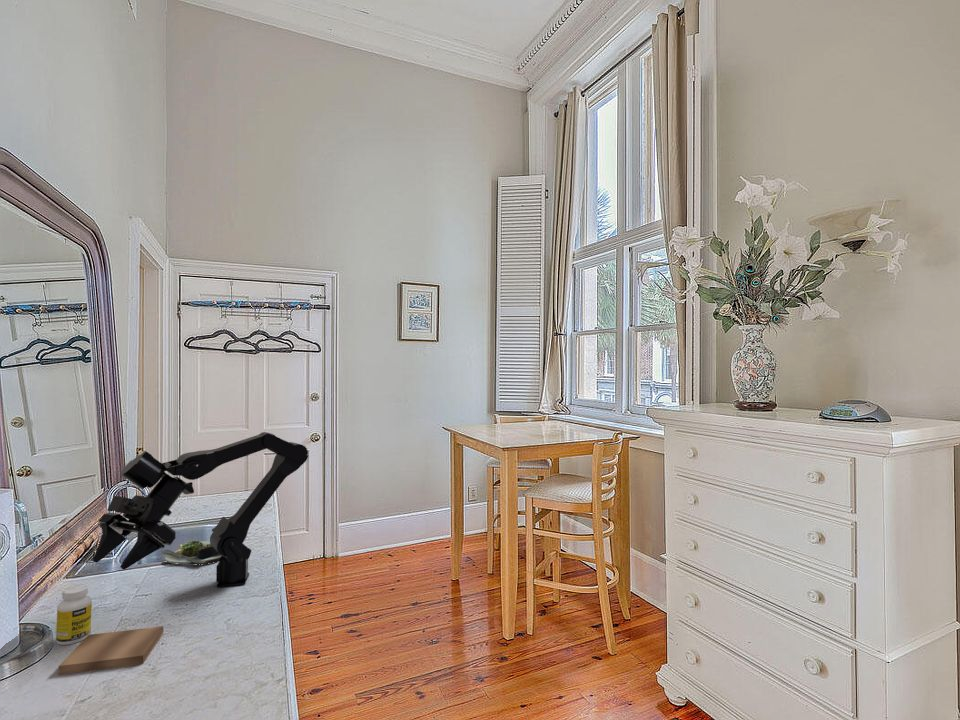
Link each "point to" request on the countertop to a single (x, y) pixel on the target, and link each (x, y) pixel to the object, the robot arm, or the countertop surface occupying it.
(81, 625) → the supplement bottle
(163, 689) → the countertop surface
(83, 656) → the serving board
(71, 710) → the countertop surface
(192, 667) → the countertop surface
